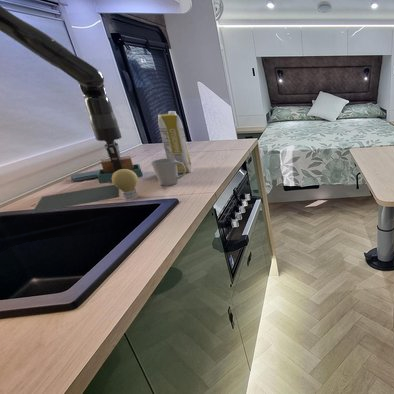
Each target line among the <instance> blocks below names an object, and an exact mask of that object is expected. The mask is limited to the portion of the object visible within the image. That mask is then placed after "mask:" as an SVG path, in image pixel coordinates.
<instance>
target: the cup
mask: <svg viewBox="0 0 394 394" xmlns="http://www.w3.org/2000/svg"><path fill="white" fill-rule="evenodd" d="M177 164H181V165H182V166H183V168H184V173H181V174H180V175H179V174H178V173H177ZM151 166H152V168H153V171H154V173H155V176H156V178H157V180H158V182H159V185H160V186H163V187H169V186H174V185H176V184H178V183H179V180H181V179H182V178H183V177H185V175H186V173H187V172H186V169H185V166H184V164H183V163H182V162H179V161H176V159H173V158H167V157H166V158H160V159H156V160H152V161H151ZM185 172H186V173H185Z"/></svg>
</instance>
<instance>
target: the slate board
mask: <svg viewBox="0 0 394 394" xmlns="http://www.w3.org/2000/svg"><path fill="white" fill-rule="evenodd" d="M116 198H120V189H119V188H117V187H116V186H115V185H114V184H109V185H104V186H98V187H97V186H96V187H92V188H86V189H79V190H74V191H73V190H72V191H68V192H67V191H66V192H62V193H56V194H49V195H44V196H41V198H40V199H39V201H38V202H37V204H36V205H35V207H34V209H33V211H32V212H31V214H36V213H37V214H38V213H42V212H48V211H53V210H57V209H58V208H59V209H63V208H68V207H73V206H79V205H80V206H81V205H85V204H90V203H95V202H100V201H106V200H111V199H116Z"/></svg>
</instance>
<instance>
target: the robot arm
mask: <svg viewBox="0 0 394 394" xmlns="http://www.w3.org/2000/svg"><path fill="white" fill-rule="evenodd" d="M0 32H2V33H3V34H5V35H6V36H8V37H9V38H10V39H12V40H13V41H15V42H16V43H18V44H20V45H21V46H23V47H24V48H25V49H27V50H28V51H30V52H31V53H33V54H35V56H37V57H39V58H40V59H42V60H44V61H45V62H47V63H48V64H50V65H51V66H53V67H55V68H56V69H59V70H60V71H62V72H64V73H65V74H66V75H68V76H69V77H70V78H72V79H73V80H75V81H76V82H77V85H78V87H79V89H80V92H81V94H82V96H83V99H84V104H85V105H84V106H85V107H86V111H87V114H88V118H89V124H90V126H91V128H92V132H93V134H94V137H95V140H96V141H98V142H105V144H104V150H105V151H106V153H107V157H108V159H111V162H112V164H113V165H114V169H115V172H116V171H118V170H121V169H122V166H121V161H120V159H119V157H121V152H120V147H119V143H118V142H116V140H120V139H122V134H121V130H120V127H119V123H118V119H117V118H116V115H115V113H114V110H113V106H112V103H111V101H110V99H109V97H108V95H107V91H106V88H105V84H104V83H105V78H104V75H103V74H102V72H101V71H100V70H98V69H97V68H96V67H94V66H93V65H92V64H90V63H89V62H87V61H86V60H84V59H83V58H80V57H79V56H77V55H75V54H74V53H73V52H72V51H71V50H69V49H68V48H67V47H65V46H64V45H63V44H62V43H60V42H58V41H57V40H56V39H54V38H53V37H51V36H50V35H48V34H47V33H45V32H44V31H42V30H40V29H39V28H37V27H35V26H33V24H30V23H28V22H27V21H25V20H23V19H22V18H20V17H18V16H17V15H15V14H14V13H12V12H10V11H9V10H7V9H6V8H5V7H3V6H2V5H0ZM113 158H117V159H114V160H113Z"/></svg>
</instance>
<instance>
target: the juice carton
mask: <svg viewBox="0 0 394 394" xmlns="http://www.w3.org/2000/svg"><path fill="white" fill-rule="evenodd" d="M157 125H158V128H159V132H160V136H161V140H162V144H163V148H164V153H165V156H166V158H173V159H176V161H179V162H182V163H183V164H184V166H185V169H186V172H185V174H186V173H191V171H192V162H191V157H190V153H189V148H188V143H187V138H186V135H185V130H184V125H183V121H182V120H181V117H180V116H179V114H177V111H174V110H169V111H168V113H161V114H158V115H157ZM177 173H178V175H179V174H180V175H181V174H183V173H184V168H183V166H182V165H181V164H177Z"/></svg>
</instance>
